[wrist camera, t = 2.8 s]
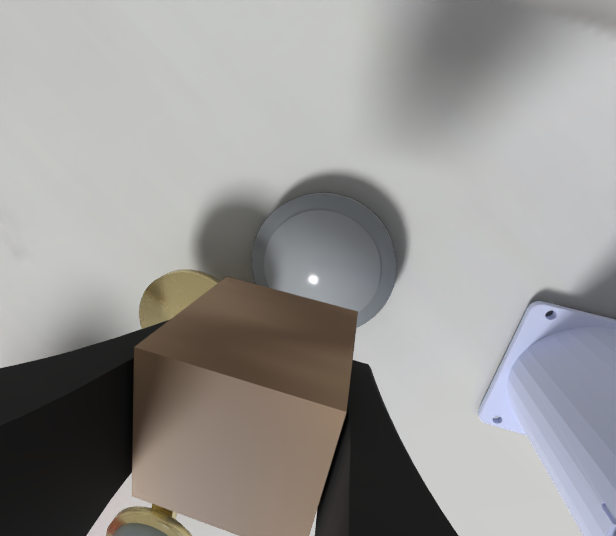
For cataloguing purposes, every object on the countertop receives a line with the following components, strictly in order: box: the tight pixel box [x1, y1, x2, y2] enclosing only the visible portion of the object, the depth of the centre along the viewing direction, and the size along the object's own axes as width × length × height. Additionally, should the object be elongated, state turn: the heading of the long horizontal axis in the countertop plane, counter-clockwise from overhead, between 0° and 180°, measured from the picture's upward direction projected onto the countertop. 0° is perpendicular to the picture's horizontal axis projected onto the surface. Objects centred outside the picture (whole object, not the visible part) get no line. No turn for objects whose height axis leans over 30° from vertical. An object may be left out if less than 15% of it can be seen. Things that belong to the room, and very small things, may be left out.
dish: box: [251, 192, 396, 328], centre depth 18 cm, size 8×8×1 cm
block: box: [132, 277, 358, 536], centre depth 8 cm, size 4×4×4 cm
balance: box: [106, 269, 220, 536], centre depth 20 cm, size 21×6×6 cm, turn 169°
